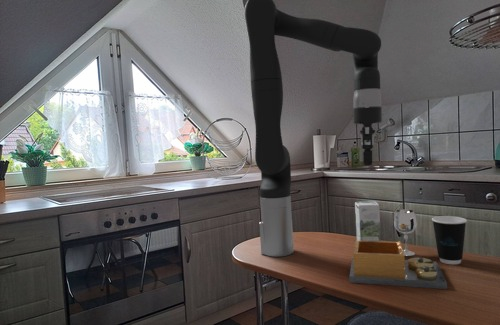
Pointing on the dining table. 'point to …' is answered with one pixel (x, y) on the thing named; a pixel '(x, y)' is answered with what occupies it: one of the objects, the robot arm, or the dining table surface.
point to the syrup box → (367, 221)
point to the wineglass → (405, 225)
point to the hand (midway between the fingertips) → (368, 163)
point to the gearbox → (392, 266)
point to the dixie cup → (449, 238)
